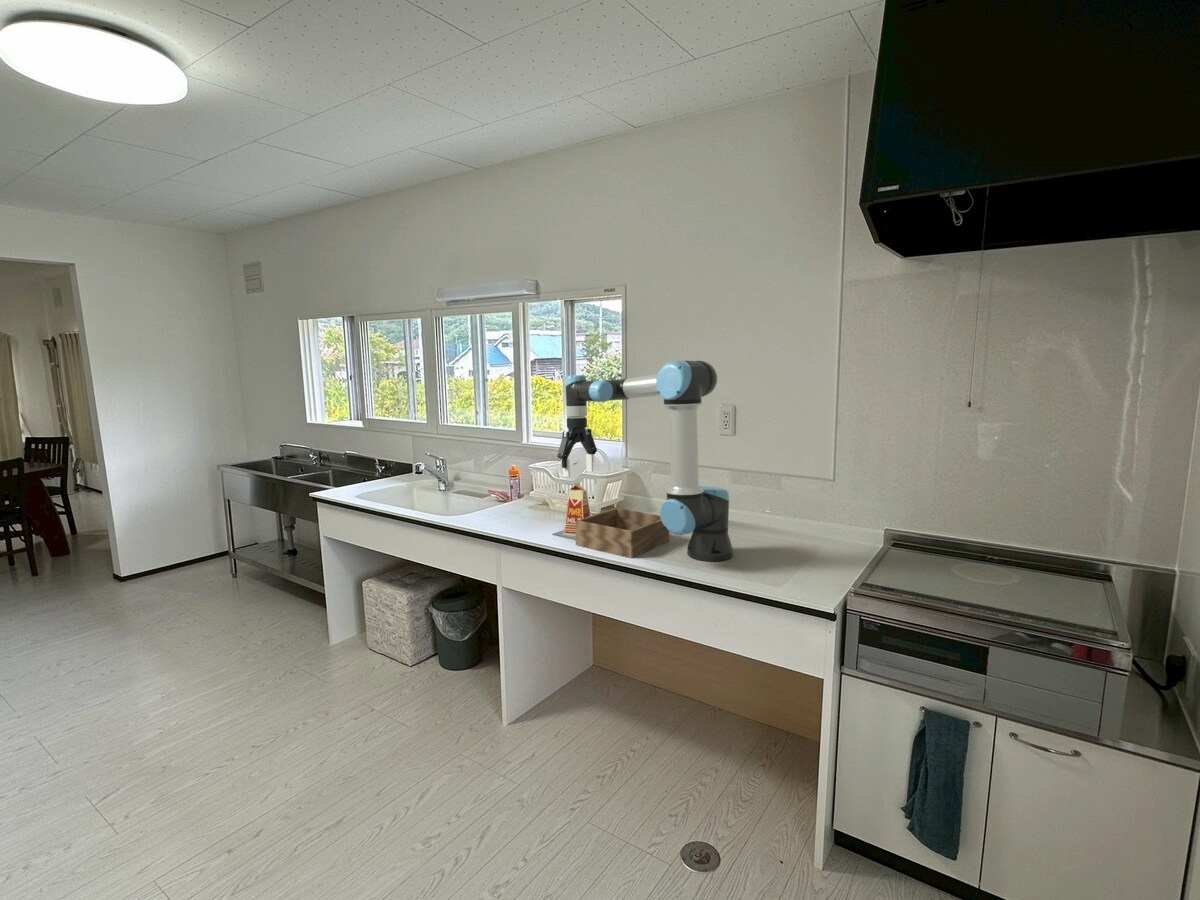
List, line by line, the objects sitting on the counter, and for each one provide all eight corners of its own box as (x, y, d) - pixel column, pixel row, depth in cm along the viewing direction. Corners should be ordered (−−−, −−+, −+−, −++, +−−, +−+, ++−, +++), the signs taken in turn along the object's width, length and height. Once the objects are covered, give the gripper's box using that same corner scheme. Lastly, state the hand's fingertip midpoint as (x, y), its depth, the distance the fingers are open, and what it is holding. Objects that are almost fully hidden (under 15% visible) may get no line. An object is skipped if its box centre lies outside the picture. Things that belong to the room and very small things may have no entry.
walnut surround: (669, 541, 222) (669, 517, 220) (631, 558, 203) (631, 531, 202) (616, 530, 236) (616, 507, 235) (575, 545, 217) (575, 520, 216)
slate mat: (604, 532, 233) (604, 531, 233) (580, 541, 223) (580, 540, 223) (576, 526, 242) (576, 525, 242) (552, 534, 231) (552, 533, 231)
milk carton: (586, 537, 226) (585, 484, 224) (562, 535, 229) (561, 482, 226) (592, 530, 235) (592, 479, 232) (569, 529, 237) (569, 478, 235)
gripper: (590, 414, 238) (591, 468, 241) (546, 419, 219) (548, 477, 221) (605, 415, 233) (606, 470, 236) (561, 420, 214) (563, 479, 217)
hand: (578, 473), depth 229 cm, fingers open, 13 cm apart
